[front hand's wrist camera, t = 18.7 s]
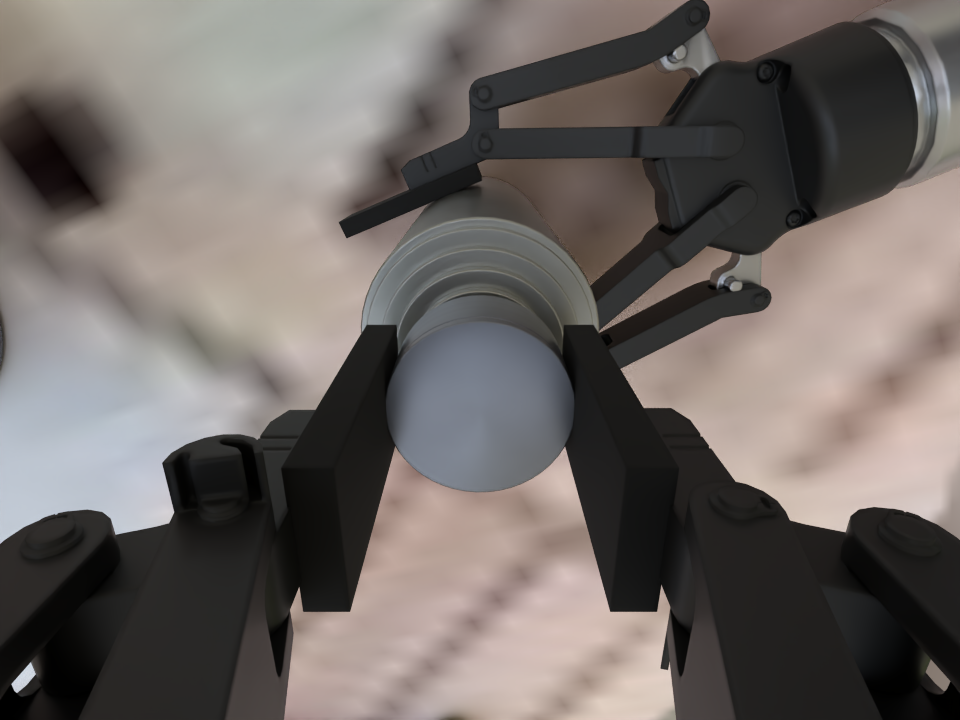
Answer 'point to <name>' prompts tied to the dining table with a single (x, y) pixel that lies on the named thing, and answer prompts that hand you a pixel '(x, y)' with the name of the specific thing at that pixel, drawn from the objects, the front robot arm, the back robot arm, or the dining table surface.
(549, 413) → the cap
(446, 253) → the bottle
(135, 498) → the dining table surface
